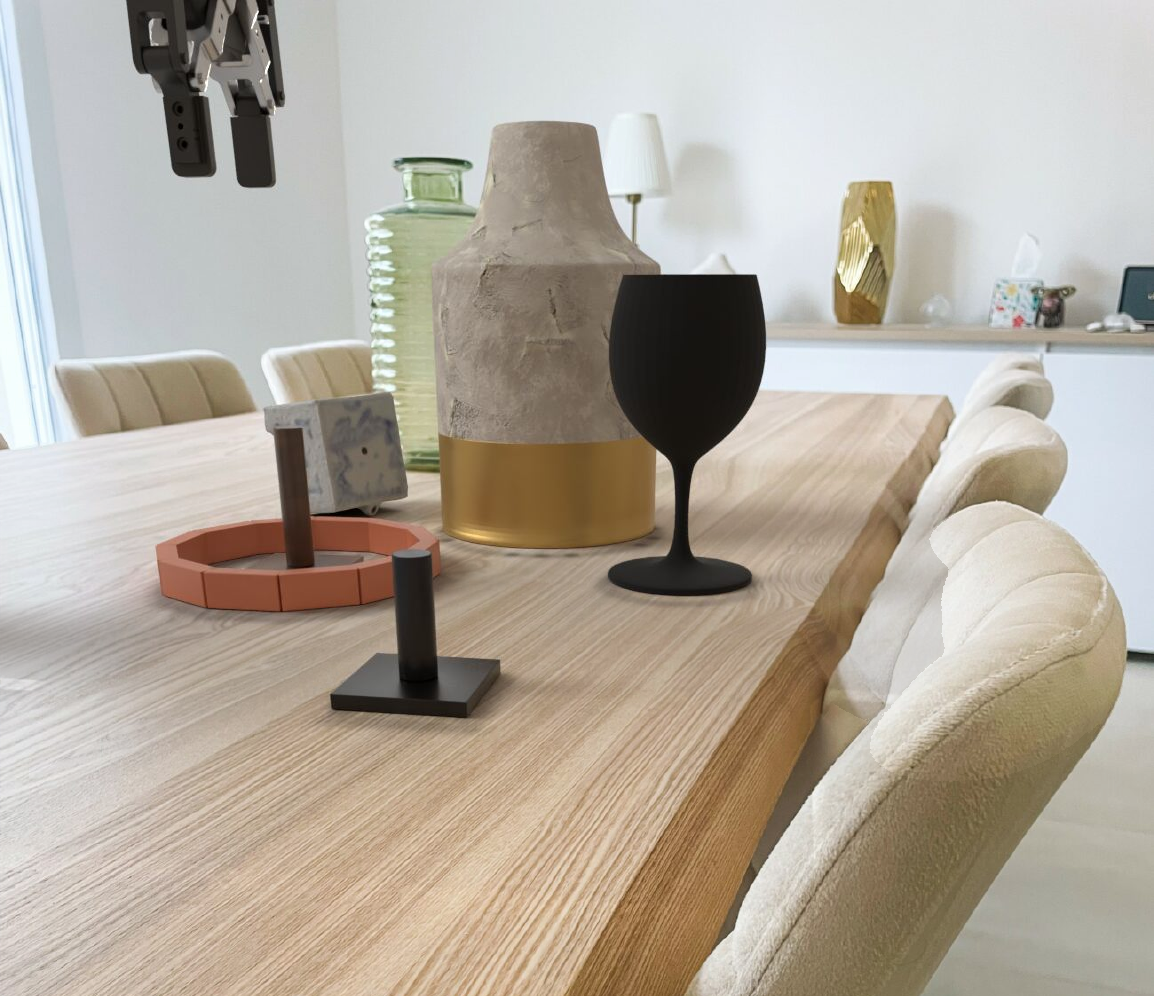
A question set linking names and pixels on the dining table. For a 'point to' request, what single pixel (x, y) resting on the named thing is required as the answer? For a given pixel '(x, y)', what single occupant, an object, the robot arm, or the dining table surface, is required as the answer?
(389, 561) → the ring
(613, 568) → the wine glass
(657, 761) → the dining table surface
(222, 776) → the dining table surface
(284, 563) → the walnut post
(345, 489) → the incense holder
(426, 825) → the dining table surface
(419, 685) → the metal post
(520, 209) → the vase
